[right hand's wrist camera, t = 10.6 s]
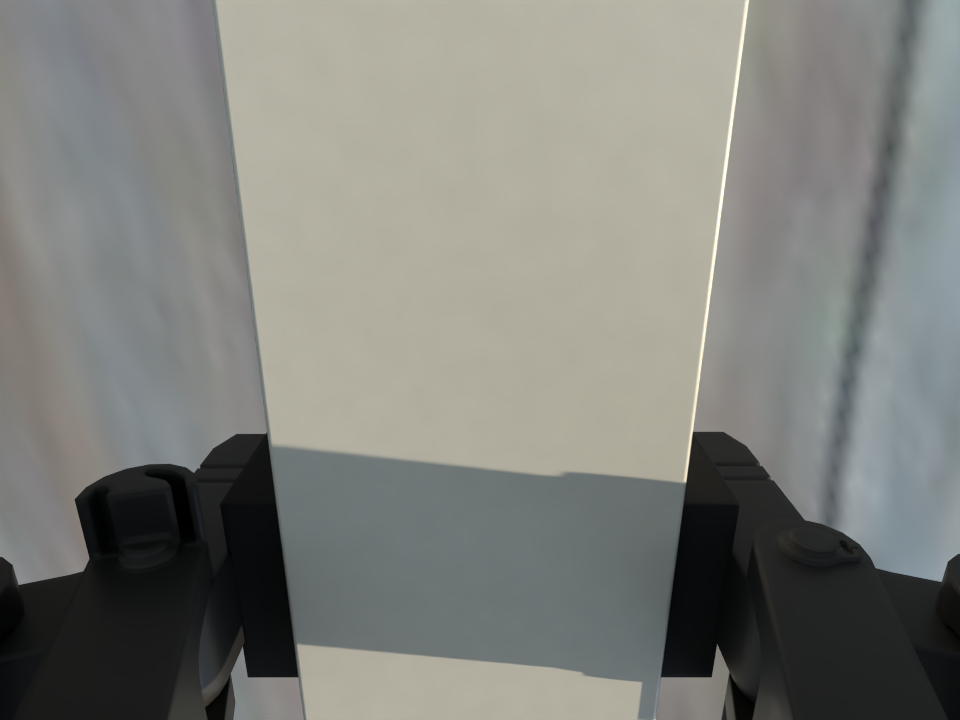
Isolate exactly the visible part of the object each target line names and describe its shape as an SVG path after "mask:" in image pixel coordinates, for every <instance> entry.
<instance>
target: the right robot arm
mask: <svg viewBox="0 0 960 720" xmlns="http://www.w3.org/2000/svg"><path fill="white" fill-rule="evenodd" d="M759 464H760V463H759V462H758V460H757V459H756V458H755V457H754V455H753V454H752V453H751V451H750V450H749V449H748V448H747V446H745V445H744V444H742V443H740V442H739V441H737V440H735V439H734V438H732V437H731V436H729V435H727V434H726V433H724V432H693V434H692V441H691V449H690V457H689V465H688V472H687V480H686V488H685V495H684V503H683V511H682V518H681V526H680V534H679V542H678V549H677V557H676V565H675V572H674V580H673V588H672V595H671V603H670V611H669V619H668V626H667V634H666V642H665V649H664V657H663V665H662V672H661V677H712V672H713V666H714V659H715V653H716V647H717V644H718V647H719V649H720V651H721V653H722V656H723V658H724V660H725V662H726V665H727V667H728V669H729V671H730V673H729V679H728V685H727V690H726V696H725V702H724V707H723V713H722V719H721V720H960V554H958V555H956V556H955V557H954V558H952V559H951V560H950V561H948V564H947V567H946V570H945V573H944V577H943V580H942V582H938V581H933V580H928V579H923V578H918V577H913V576H908V575H902V574H897V573H892V572H888V571H884V570H880V569H876V568H875V566H874V564H873V562H872V560H871V558H870V557H869V556H868V554H867V553H866V552H865V551H864V549H863V548H862V547H861V546H860V544H858V543H857V542H855V541H854V540H852V539H851V538H849V537H848V536H846V535H845V534H843V533H842V532H839V531H837V530H834V529H832V528H830V527H827V526H825V525H823V524H819V523H815V522H810V521H806V520H804V519H803V517H802V516H801V515H800V514H799V512H798V511H797V510H796V509H795V507H794V506H793V505H792V504H791V502H790V501H789V500H788V498H787V497H786V496H785V495H784V493H783V492H782V491H781V490H780V488H779V487H778V486H777V484H776V483H775V482H774V481H773V480H771V479H770V476H769V474H768V473H767V472H766V470H765V469H764V468H763V467H762V466H760V465H759ZM75 503H76V506H77V510H78V514H79V518H80V522H81V526H82V530H83V534H84V538H85V542H86V546H87V550H88V554H89V558H90V559H89V561H88V563H87V566H86V568H85V570H84V571H83V572H79V573H75V574H72V575H67V576H62V577H57V578H52V579H47V580H42V581H37V582H32V583H27V584H22V585H18V582H17V579H16V575H15V572H14V569H13V566H12V564H10V563H9V562H8V561H7V560H5V559H4V558H3V557H0V720H233V717H234V708H235V698H234V691H233V685H232V679H231V672H232V669H233V667H234V665H235V662H236V660H237V658H238V656H239V653H240V651H241V649H242V647H243V650H244V656H245V662H246V668H247V674H248V677H298V669H297V661H296V654H295V646H294V638H293V630H292V622H291V615H290V607H289V599H288V591H287V583H286V575H285V568H284V560H283V552H282V544H281V536H280V529H279V521H278V513H277V505H276V497H275V489H274V482H273V474H272V466H271V458H270V450H269V443H268V435H267V433H266V434H236V435H234V436H233V437H231V438H230V439H228V440H226V441H225V442H223V443H222V444H220V445H218V446H217V447H215V448H213V450H212V451H211V452H210V454H209V455H208V456H207V457H206V459H205V460H204V461H203V463H202V464H201V465H200V469H197V470H196V471H195V473H193V472H191V471H190V470H189V469H187V468H186V467H181V466H177V465H172V464H149V465H144V466H139V467H134V468H128V469H125V470H122V471H119V472H116V473H114V474H111V475H108V476H105V477H103V478H101V479H100V480H98V481H96V482H95V483H93V484H91V485H89V486H88V487H86V488H85V489H84V490H83V491H82V492H81V493H80V494H79V495H78V497H77V498H76V499H75Z"/></svg>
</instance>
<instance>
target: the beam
mask: <svg viewBox="0 0 960 720" xmlns="http://www.w3.org/2000/svg"><path fill="white" fill-rule="evenodd" d="M748 3H749V0H212V5H213V12H214V20H215V28H216V36H217V44H218V52H219V59H220V67H221V75H222V83H223V91H224V98H225V106H226V114H227V122H228V130H229V138H230V145H231V153H232V161H233V169H234V177H235V184H236V192H237V200H238V208H239V216H240V224H241V231H242V239H243V247H244V255H245V263H246V270H247V278H248V286H249V294H250V302H251V310H252V317H253V325H254V333H255V341H256V349H257V356H258V364H259V372H260V380H261V388H262V396H263V403H264V411H265V419H266V427H267V435H268V443H269V450H270V458H271V466H272V474H273V482H274V489H275V497H276V505H277V513H278V521H279V529H280V536H281V544H282V552H283V560H284V568H285V575H286V583H287V591H288V599H289V607H290V615H291V622H292V630H293V638H294V646H295V654H296V661H297V669H298V677H299V685H300V693H301V701H302V708H303V716H304V720H655V719H656V711H657V703H658V696H659V688H660V680H661V672H662V665H663V657H664V649H665V642H666V634H667V626H668V619H669V611H670V603H671V595H672V588H673V580H674V572H675V565H676V557H677V549H678V542H679V534H680V526H681V518H682V511H683V503H684V495H685V488H686V480H687V472H688V465H689V457H690V449H691V441H692V434H693V426H694V418H695V411H696V403H697V395H698V388H699V380H700V372H701V365H702V357H703V349H704V341H705V334H706V326H707V318H708V311H709V303H710V295H711V288H712V280H713V272H714V264H715V257H716V249H717V241H718V234H719V226H720V218H721V211H722V203H723V195H724V187H725V180H726V172H727V164H728V157H729V149H730V141H731V134H732V126H733V118H734V110H735V103H736V95H737V87H738V80H739V72H740V64H741V57H742V49H743V41H744V33H745V26H746V18H747V10H748Z"/></svg>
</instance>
